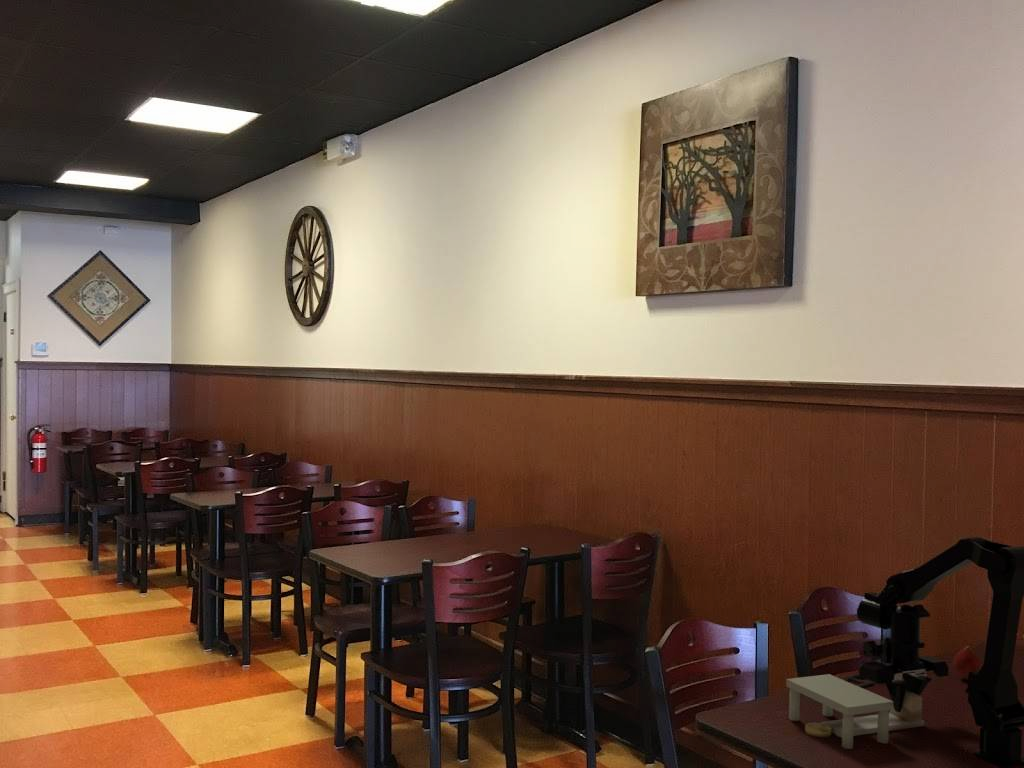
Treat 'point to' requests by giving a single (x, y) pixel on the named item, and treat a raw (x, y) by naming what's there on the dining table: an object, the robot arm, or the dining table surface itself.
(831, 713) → the miniature white bench
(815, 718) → the dining table surface
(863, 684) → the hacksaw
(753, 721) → the dining table surface
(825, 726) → the token
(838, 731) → the scraper
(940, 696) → the dining table surface
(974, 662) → the onion
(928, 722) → the dining table surface
